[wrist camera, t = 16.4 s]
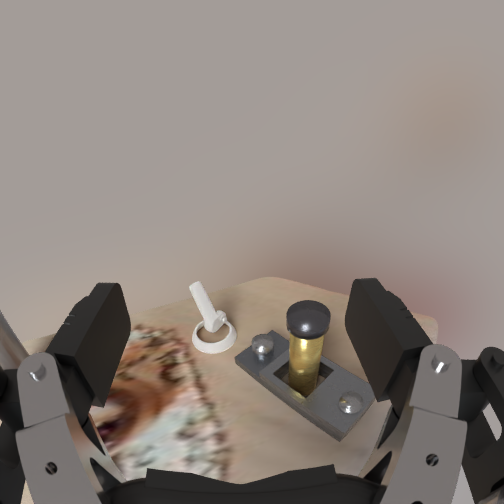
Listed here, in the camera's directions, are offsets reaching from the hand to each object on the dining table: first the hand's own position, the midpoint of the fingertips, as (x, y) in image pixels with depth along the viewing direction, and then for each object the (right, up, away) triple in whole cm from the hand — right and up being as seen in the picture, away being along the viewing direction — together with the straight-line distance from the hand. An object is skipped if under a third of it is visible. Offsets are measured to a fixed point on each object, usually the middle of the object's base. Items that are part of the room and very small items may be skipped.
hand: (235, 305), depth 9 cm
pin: (+8, -17, +28) cm, 33 cm away
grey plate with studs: (+8, -17, +28) cm, 34 cm away
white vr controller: (-6, -13, +38) cm, 40 cm away
